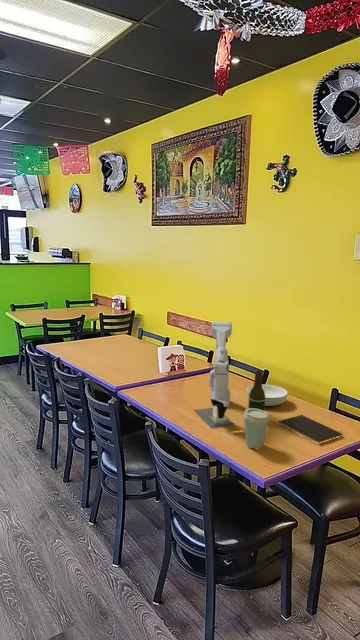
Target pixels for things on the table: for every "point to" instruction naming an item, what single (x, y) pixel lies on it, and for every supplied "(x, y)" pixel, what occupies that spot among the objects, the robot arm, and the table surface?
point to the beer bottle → (257, 393)
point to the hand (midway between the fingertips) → (218, 415)
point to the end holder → (216, 423)
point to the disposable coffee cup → (255, 427)
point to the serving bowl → (272, 394)
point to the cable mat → (209, 411)
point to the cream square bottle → (216, 414)
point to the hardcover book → (310, 428)
